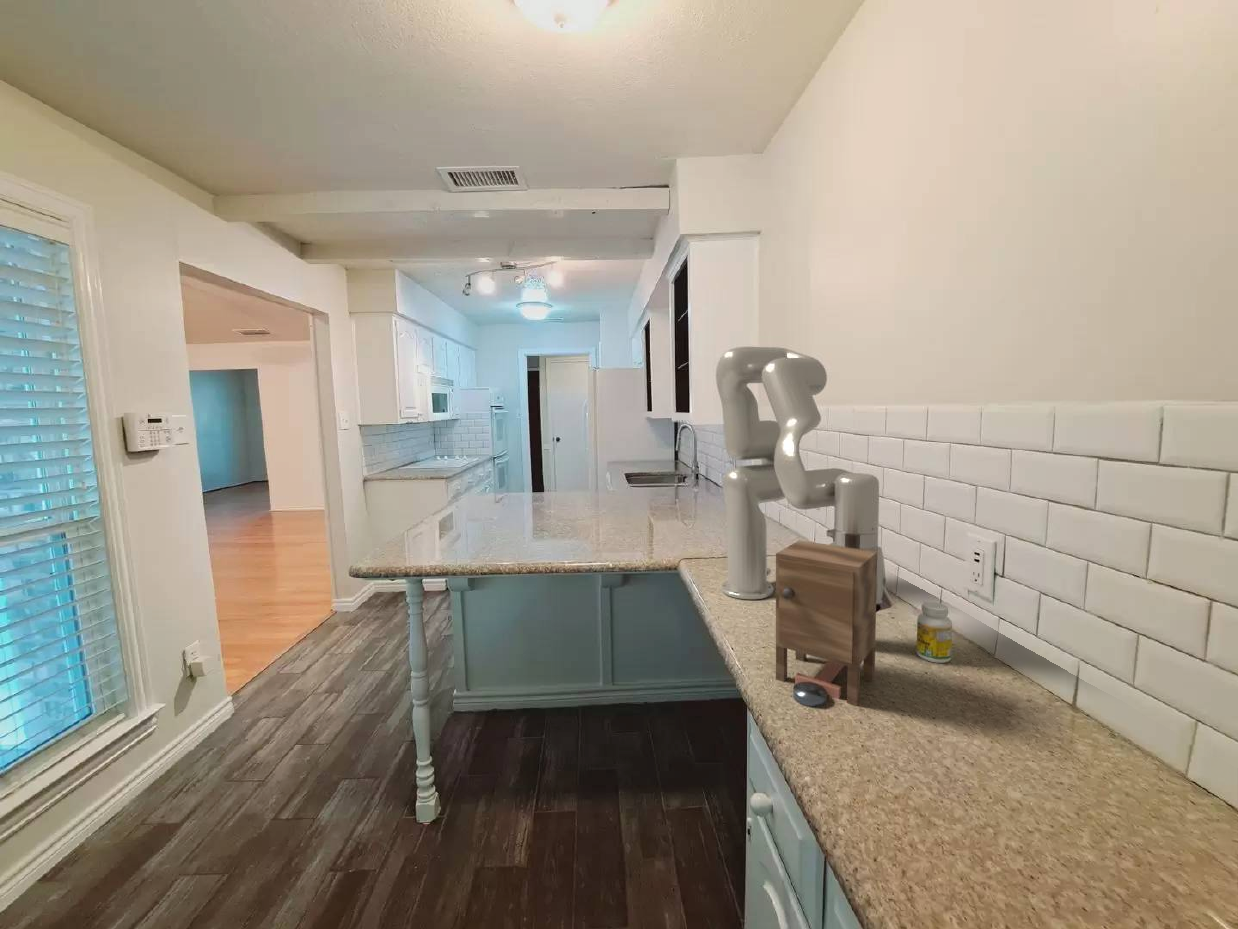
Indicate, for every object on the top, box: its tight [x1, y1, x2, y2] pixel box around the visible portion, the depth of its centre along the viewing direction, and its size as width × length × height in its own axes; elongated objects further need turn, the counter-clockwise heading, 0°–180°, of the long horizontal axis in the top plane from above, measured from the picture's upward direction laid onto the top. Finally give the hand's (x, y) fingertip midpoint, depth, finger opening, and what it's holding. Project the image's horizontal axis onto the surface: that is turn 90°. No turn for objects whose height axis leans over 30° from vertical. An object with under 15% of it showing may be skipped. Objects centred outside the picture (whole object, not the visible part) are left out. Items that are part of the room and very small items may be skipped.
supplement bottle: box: [916, 601, 953, 664], centre depth 93 cm, size 5×5×10 cm
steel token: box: [792, 682, 828, 708], centre depth 81 cm, size 5×5×2 cm
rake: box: [794, 660, 845, 700], centre depth 91 cm, size 23×7×10 cm, turn 140°
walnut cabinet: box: [775, 540, 877, 706], centre depth 85 cm, size 12×13×22 cm
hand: (854, 631), depth 98 cm, fingers closed on rake, 3 cm apart
